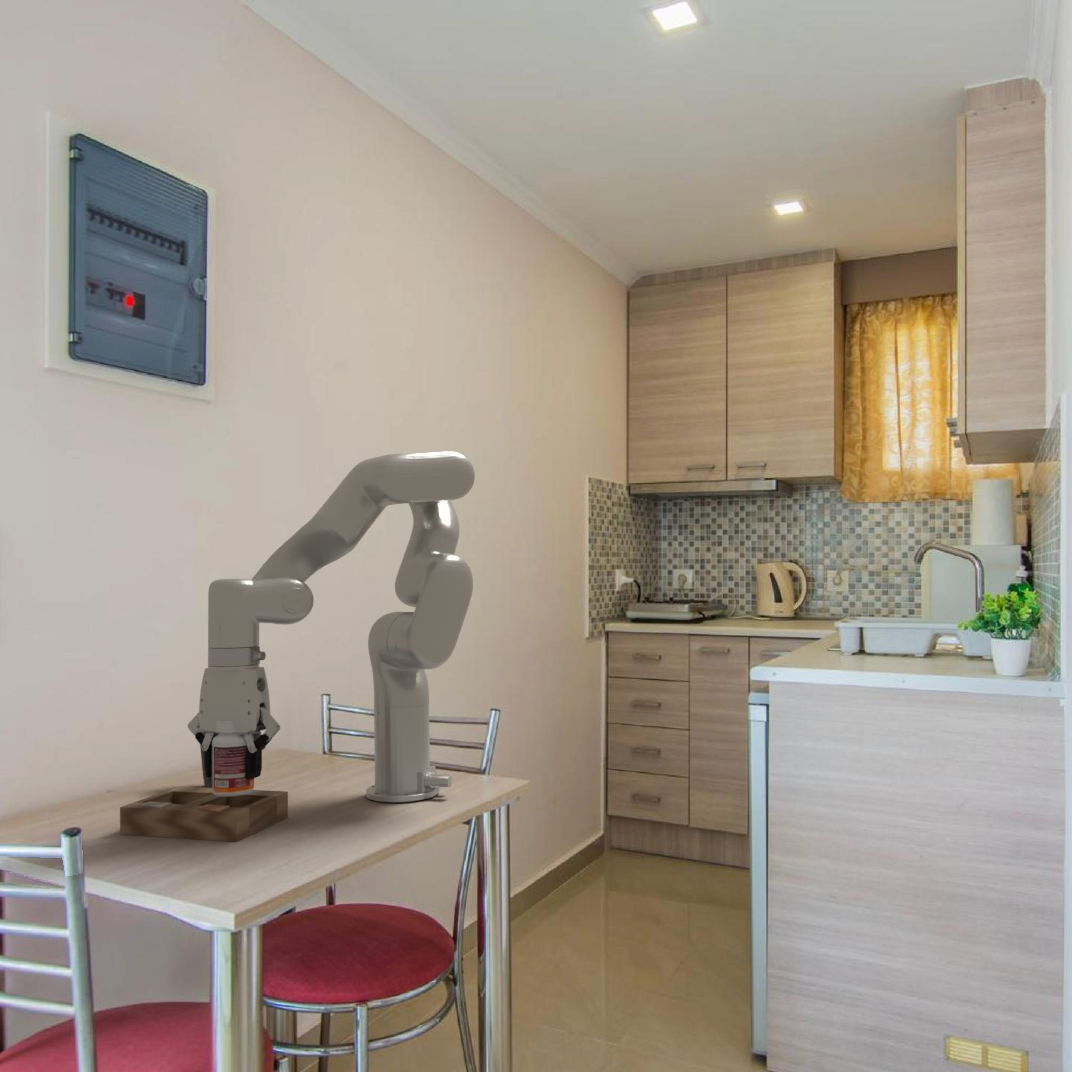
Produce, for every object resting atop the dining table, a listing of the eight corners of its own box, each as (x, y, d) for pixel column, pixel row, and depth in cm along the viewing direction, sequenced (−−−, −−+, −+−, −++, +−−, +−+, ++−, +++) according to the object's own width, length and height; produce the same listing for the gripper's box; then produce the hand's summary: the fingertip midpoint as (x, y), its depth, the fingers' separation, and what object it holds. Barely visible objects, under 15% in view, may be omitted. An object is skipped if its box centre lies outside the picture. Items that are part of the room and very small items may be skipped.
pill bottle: (259, 794, 140) (259, 719, 141) (217, 799, 137) (218, 722, 138) (247, 787, 145) (247, 714, 146) (207, 792, 142) (207, 718, 143)
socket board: (288, 817, 147) (287, 789, 147) (236, 841, 133) (236, 811, 133) (179, 811, 152) (179, 784, 152) (120, 834, 138) (120, 805, 139)
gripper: (296, 657, 144) (296, 774, 143) (200, 656, 148) (199, 769, 147) (270, 661, 136) (269, 784, 135) (169, 660, 141) (169, 779, 140)
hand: (233, 775), depth 141 cm, fingers closed on pill bottle, 6 cm apart
